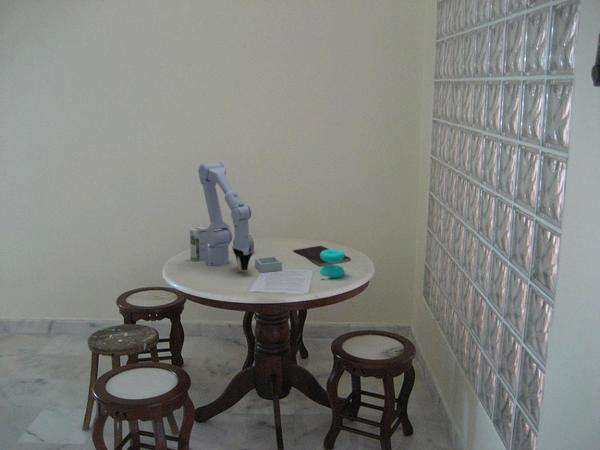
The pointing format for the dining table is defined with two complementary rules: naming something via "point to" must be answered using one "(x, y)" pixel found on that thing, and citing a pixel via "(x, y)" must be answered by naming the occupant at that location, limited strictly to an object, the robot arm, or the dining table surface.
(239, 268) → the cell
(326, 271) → the donuts
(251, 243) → the ceramic mug
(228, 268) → the dining table surface
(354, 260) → the dining table surface
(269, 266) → the pale grey open tray
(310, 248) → the hardcover book
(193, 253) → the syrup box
